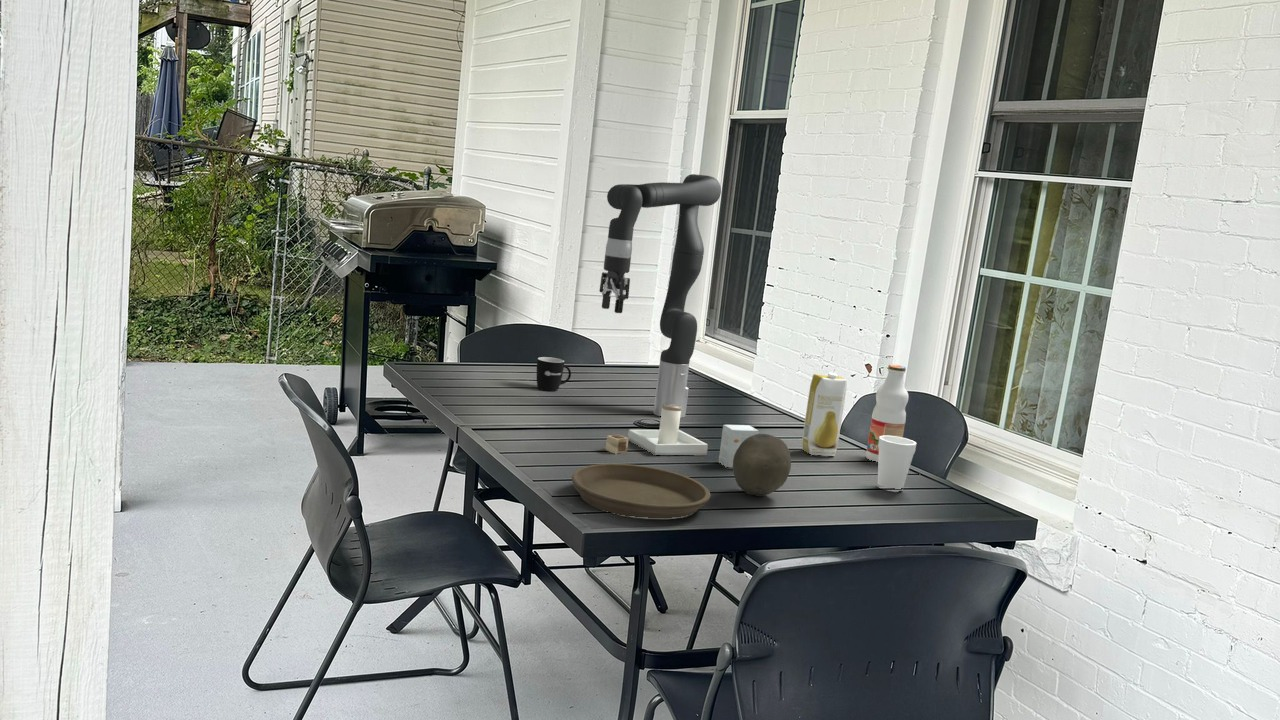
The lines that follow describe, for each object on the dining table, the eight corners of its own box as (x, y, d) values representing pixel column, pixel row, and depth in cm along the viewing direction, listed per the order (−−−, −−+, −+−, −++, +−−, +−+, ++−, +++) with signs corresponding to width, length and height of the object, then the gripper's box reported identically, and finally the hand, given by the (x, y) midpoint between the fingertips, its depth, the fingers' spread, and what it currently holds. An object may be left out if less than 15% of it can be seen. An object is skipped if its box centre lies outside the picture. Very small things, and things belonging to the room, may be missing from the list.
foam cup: (863, 484, 265) (871, 436, 263) (886, 481, 271) (894, 434, 269) (893, 495, 258) (901, 446, 256) (915, 492, 264) (923, 444, 262)
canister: (670, 442, 283) (675, 403, 281) (680, 447, 278) (685, 408, 276) (653, 442, 280) (658, 403, 279) (663, 447, 276) (668, 407, 274)
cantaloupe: (715, 491, 242) (724, 430, 240) (753, 484, 252) (761, 425, 250) (762, 508, 233) (771, 445, 230) (799, 501, 243) (808, 440, 240)
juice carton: (809, 456, 289) (821, 373, 285) (797, 449, 297) (809, 368, 293) (838, 458, 292) (851, 376, 288) (826, 450, 299) (839, 370, 295)
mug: (538, 392, 333) (542, 361, 332) (530, 386, 341) (534, 356, 340) (573, 393, 338) (576, 363, 337) (564, 387, 346) (568, 358, 345)
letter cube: (616, 449, 271) (618, 433, 271) (627, 453, 268) (629, 437, 268) (605, 450, 269) (607, 434, 268) (615, 454, 266) (617, 438, 265)
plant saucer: (730, 505, 233) (733, 486, 233) (667, 535, 207) (669, 514, 206) (615, 473, 248) (617, 455, 248) (542, 498, 221) (544, 478, 221)
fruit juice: (895, 467, 289) (911, 370, 285) (862, 460, 293) (877, 364, 288) (900, 460, 298) (916, 367, 293) (868, 454, 301) (883, 361, 297)
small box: (744, 463, 273) (750, 425, 271) (753, 469, 268) (759, 430, 266) (717, 462, 270) (722, 423, 268) (726, 468, 265) (731, 429, 263)
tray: (677, 439, 290) (678, 429, 290) (706, 455, 276) (707, 444, 276) (627, 440, 282) (628, 429, 282) (654, 456, 269) (656, 445, 268)
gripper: (641, 258, 289) (634, 315, 292) (618, 253, 301) (612, 307, 304) (617, 256, 285) (610, 313, 288) (596, 251, 298) (589, 306, 300)
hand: (611, 310), depth 296 cm, fingers open, 8 cm apart
